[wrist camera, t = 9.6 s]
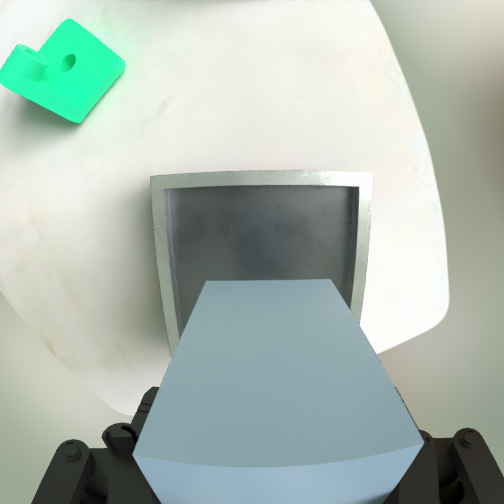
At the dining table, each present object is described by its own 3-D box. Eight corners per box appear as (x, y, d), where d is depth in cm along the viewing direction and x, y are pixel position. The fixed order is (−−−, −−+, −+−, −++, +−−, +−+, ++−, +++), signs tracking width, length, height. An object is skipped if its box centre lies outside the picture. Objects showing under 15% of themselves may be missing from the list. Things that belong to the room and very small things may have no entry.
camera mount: (133, 68, 23) (82, 31, 13) (85, 124, 25) (21, 113, 15) (78, 23, 21) (30, -9, 11) (38, 72, 23) (-18, 56, 13)
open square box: (188, 336, 31) (174, 372, 24) (174, 174, 26) (150, 176, 20) (335, 334, 30) (351, 369, 24) (346, 172, 26) (372, 173, 19)
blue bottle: (216, 389, 16) (185, 582, 4) (206, 280, 14) (104, 530, 3) (318, 387, 16) (358, 576, 4) (330, 278, 14) (456, 511, 2)
